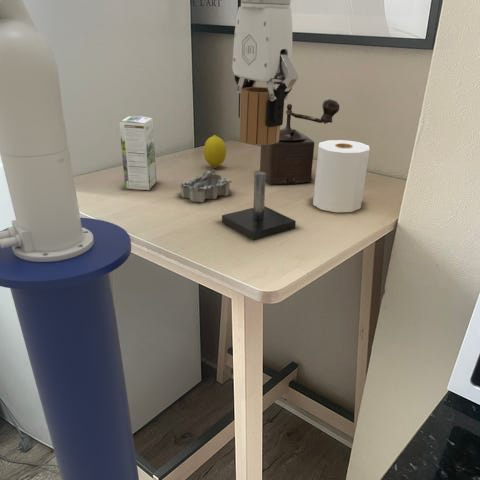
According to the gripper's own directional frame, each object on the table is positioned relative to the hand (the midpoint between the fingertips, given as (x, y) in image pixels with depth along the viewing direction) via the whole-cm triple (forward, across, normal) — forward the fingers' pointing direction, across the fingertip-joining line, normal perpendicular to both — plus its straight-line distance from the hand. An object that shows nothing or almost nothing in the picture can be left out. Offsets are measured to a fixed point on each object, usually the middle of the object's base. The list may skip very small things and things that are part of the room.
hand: (260, 120), depth 84 cm
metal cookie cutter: (+19, -20, +2) cm, 28 cm away
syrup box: (+19, -33, -7) cm, 39 cm away
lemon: (+19, -36, +15) cm, 43 cm away
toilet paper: (+19, 0, +22) cm, 29 cm away
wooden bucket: (+3, 0, 0) cm, 3 cm away
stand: (+19, 0, +1) cm, 19 cm away
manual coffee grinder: (+19, -19, +27) cm, 38 cm away
